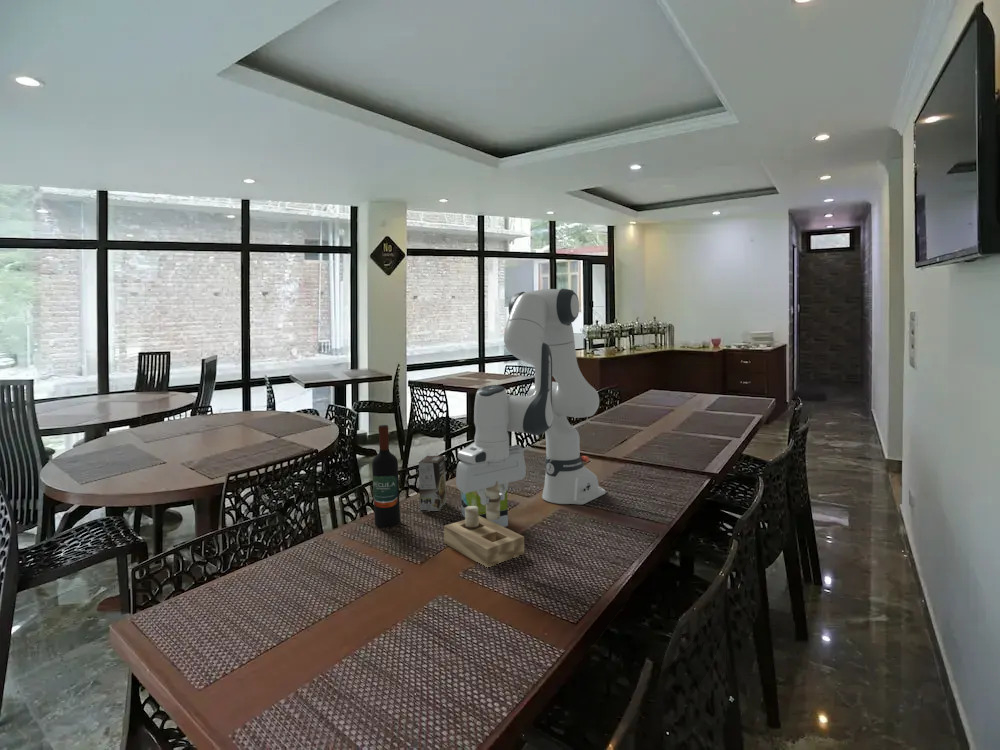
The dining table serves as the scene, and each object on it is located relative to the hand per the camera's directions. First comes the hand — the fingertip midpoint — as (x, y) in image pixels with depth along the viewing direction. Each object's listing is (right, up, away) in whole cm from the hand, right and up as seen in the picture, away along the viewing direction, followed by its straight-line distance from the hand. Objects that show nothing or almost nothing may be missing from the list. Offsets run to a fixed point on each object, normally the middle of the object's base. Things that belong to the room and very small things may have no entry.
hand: (492, 502), depth 151 cm
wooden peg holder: (-3, -14, +6) cm, 15 cm away
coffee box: (-20, -10, +39) cm, 45 cm away
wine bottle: (-32, -12, +26) cm, 43 cm away
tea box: (-3, -12, +26) cm, 29 cm away
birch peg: (0, -4, 0) cm, 4 cm away
